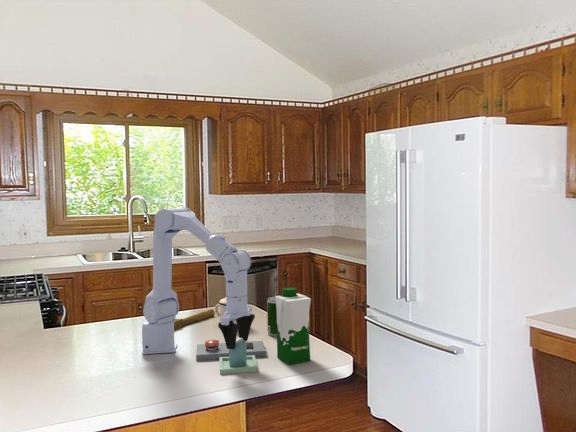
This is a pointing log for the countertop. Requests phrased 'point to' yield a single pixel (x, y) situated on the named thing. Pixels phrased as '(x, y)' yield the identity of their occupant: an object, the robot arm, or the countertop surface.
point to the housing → (224, 352)
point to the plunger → (211, 345)
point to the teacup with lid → (222, 309)
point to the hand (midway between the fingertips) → (237, 344)
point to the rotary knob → (238, 354)
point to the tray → (249, 367)
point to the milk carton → (293, 326)
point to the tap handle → (193, 318)
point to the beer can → (272, 316)
